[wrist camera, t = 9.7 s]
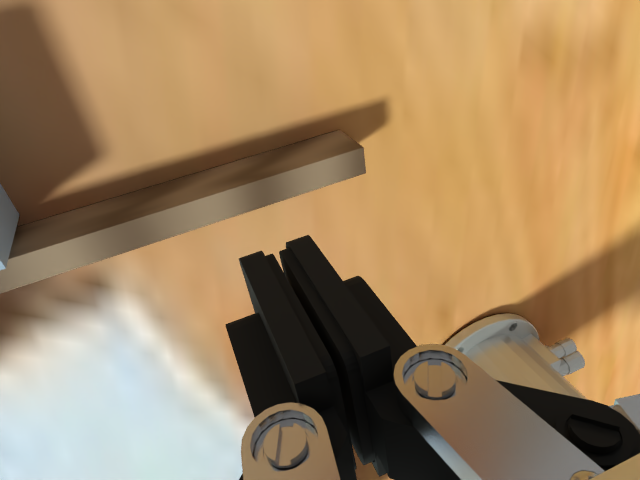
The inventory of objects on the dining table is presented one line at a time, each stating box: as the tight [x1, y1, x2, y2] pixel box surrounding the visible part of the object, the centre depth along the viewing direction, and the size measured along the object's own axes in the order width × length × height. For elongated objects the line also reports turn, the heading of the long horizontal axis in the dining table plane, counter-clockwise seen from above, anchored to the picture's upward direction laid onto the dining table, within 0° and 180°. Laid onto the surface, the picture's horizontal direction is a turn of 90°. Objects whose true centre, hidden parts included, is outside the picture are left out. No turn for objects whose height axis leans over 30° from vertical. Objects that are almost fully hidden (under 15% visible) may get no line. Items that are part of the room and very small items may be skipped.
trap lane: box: [0, 130, 366, 294], centre depth 18 cm, size 26×20×4 cm
